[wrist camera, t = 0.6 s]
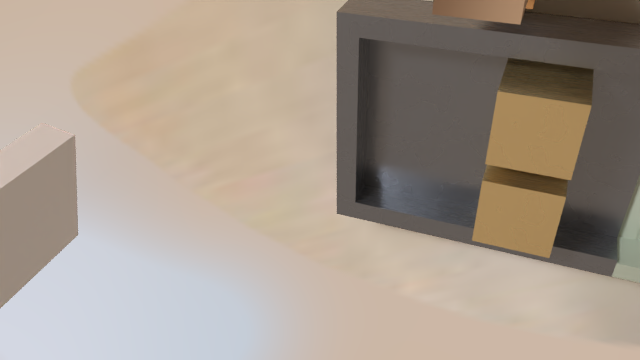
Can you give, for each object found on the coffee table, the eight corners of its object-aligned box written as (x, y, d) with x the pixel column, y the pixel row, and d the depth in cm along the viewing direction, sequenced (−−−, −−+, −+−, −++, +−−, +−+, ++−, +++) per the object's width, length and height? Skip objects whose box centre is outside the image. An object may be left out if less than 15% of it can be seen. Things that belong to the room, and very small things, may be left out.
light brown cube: (593, 67, 29) (591, 105, 26) (574, 138, 32) (570, 180, 29) (508, 56, 30) (497, 91, 27) (496, 125, 33) (484, 164, 30)
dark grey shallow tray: (686, 29, 28) (693, 55, 26) (611, 242, 35) (611, 276, 33) (355, -7, 33) (336, 11, 30) (352, 186, 40) (336, 213, 38)
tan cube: (570, 154, 32) (566, 197, 29) (554, 212, 35) (549, 258, 32) (494, 140, 33) (482, 180, 30) (483, 198, 36) (471, 240, 33)
